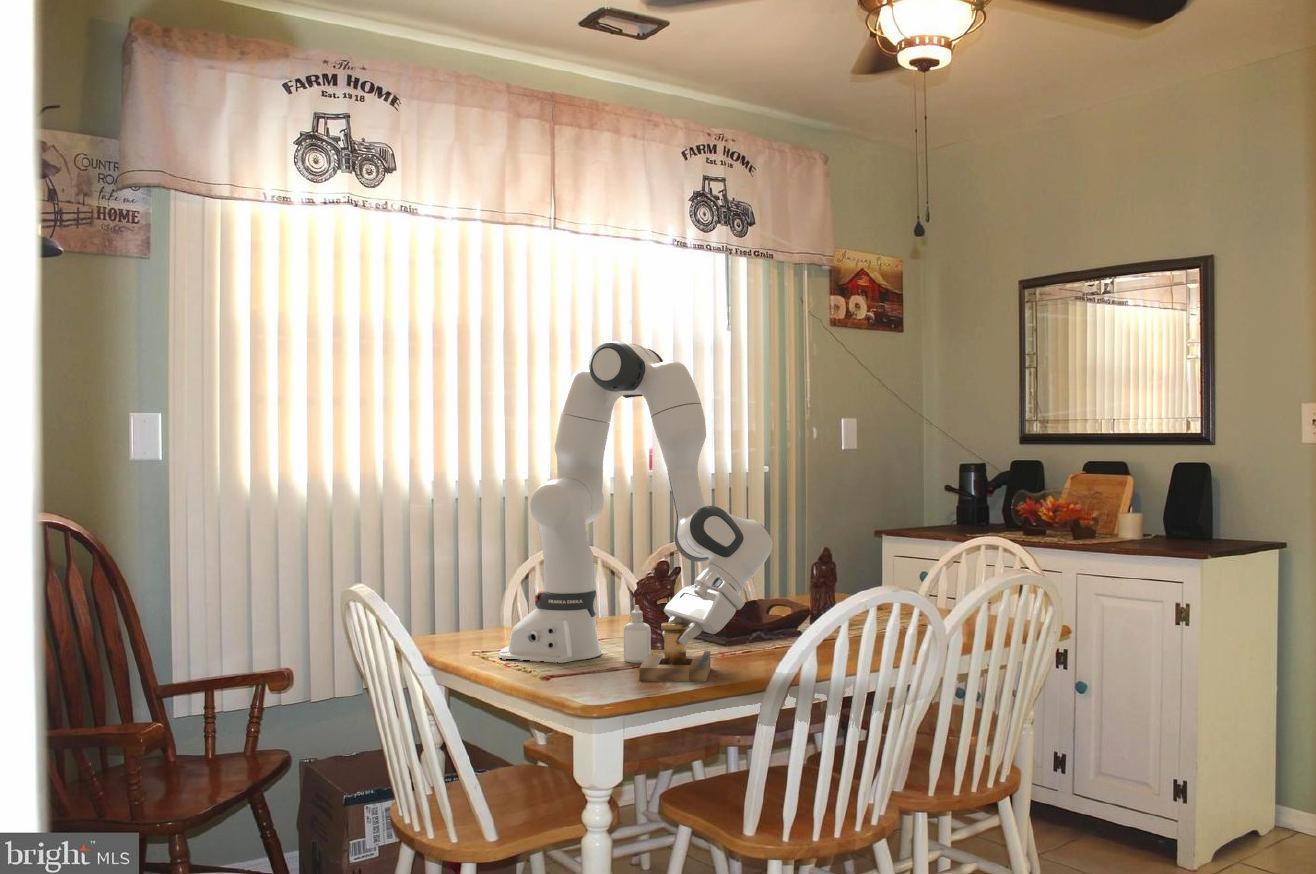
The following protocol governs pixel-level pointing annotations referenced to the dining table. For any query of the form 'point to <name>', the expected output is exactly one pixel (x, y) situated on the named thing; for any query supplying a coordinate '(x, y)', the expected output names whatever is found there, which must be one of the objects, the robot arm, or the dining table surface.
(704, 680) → the jig
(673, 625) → the bushing
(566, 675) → the dining table surface
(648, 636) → the eye dropper bottle
